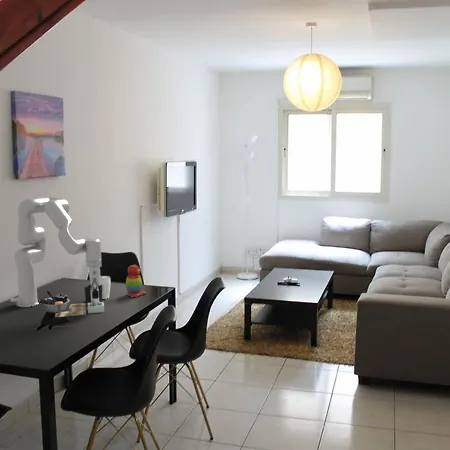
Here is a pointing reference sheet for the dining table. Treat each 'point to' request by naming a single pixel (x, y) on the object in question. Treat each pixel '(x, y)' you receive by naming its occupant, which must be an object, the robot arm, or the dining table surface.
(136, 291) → the stacking bear
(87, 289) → the pen holder
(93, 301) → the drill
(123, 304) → the dining table surface
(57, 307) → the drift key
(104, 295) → the cup
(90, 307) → the mint green square tray
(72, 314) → the socket block
